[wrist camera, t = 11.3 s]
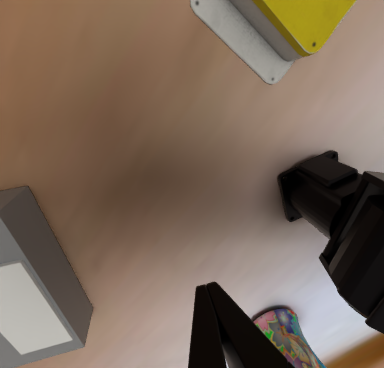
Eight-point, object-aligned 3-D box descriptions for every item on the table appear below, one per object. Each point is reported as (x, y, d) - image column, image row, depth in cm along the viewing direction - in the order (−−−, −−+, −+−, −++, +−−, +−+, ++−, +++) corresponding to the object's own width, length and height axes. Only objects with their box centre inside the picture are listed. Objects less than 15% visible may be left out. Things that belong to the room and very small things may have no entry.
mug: (292, 330, 36) (345, 416, 27) (242, 346, 35) (279, 443, 25) (300, 283, 31) (370, 371, 21) (241, 301, 29) (287, 402, 20)
